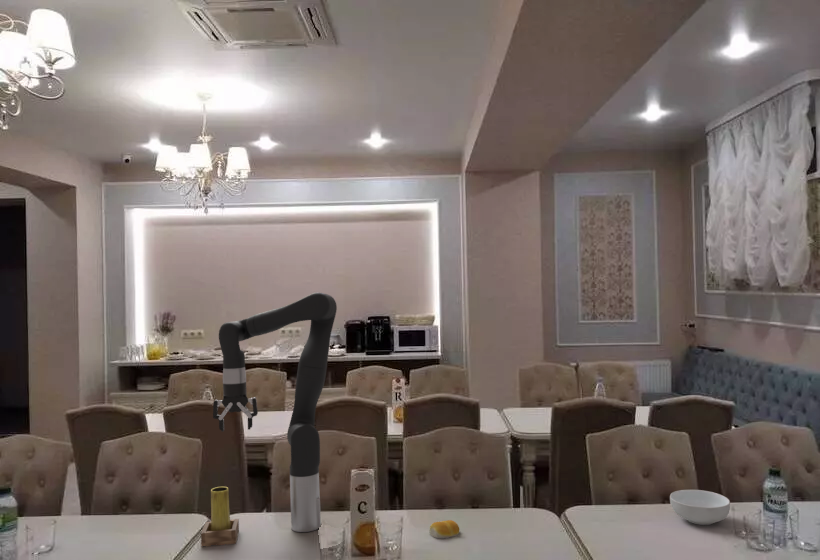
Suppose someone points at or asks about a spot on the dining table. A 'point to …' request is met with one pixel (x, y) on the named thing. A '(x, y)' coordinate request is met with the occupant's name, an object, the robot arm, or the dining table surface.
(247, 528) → the dining table surface
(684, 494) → the cereal bowl
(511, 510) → the dining table surface
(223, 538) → the socket block
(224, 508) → the vase
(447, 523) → the bread roll
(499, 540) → the dining table surface
